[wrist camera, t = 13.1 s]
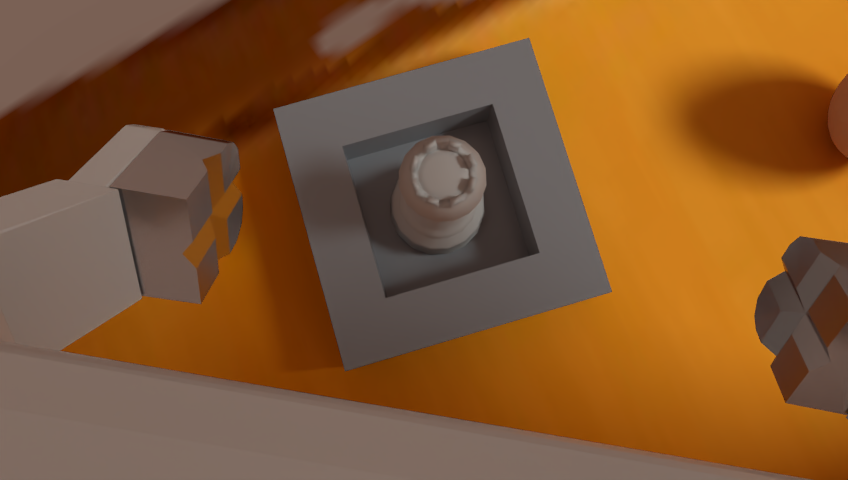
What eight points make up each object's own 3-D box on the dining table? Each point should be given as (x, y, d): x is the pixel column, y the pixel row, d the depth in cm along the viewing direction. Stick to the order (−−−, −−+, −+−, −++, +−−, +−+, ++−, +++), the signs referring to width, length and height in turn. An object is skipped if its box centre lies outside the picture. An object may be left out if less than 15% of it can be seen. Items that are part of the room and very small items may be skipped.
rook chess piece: (493, 244, 30) (520, 218, 22) (401, 265, 30) (396, 247, 22) (471, 154, 31) (489, 99, 23) (380, 175, 31) (368, 126, 23)
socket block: (518, 63, 32) (529, 37, 29) (593, 294, 31) (611, 291, 28) (286, 128, 31) (273, 108, 28) (352, 365, 30) (345, 371, 27)
